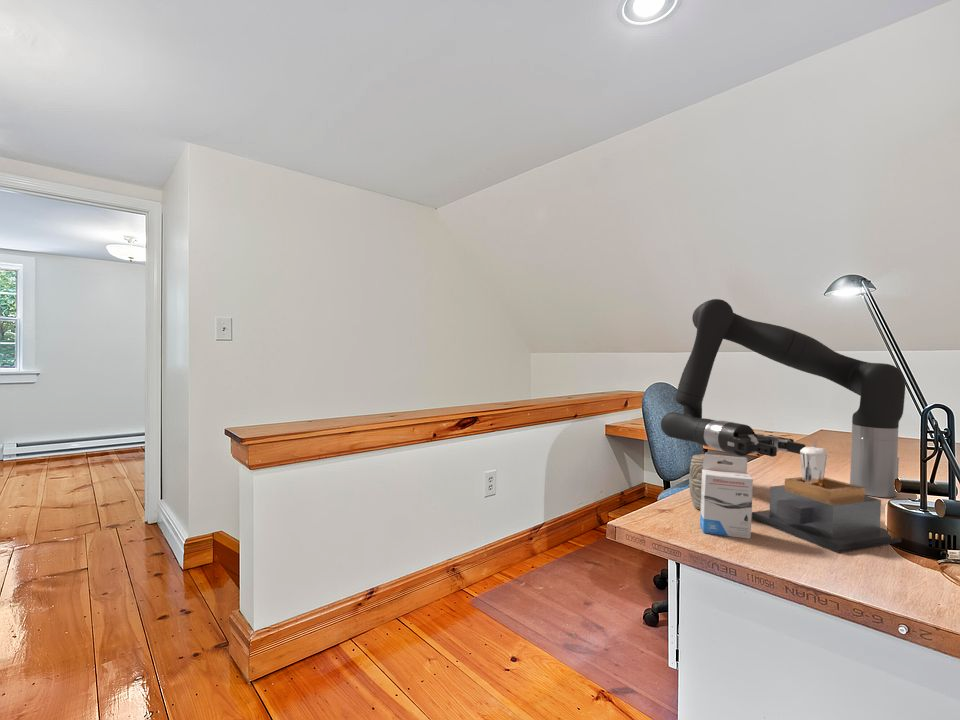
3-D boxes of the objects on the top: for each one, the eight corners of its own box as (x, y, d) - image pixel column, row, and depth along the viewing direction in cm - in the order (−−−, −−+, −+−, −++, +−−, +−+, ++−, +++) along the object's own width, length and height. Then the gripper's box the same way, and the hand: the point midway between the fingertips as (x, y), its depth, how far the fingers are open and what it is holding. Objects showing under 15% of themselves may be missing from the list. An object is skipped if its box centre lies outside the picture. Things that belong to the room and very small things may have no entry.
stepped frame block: (809, 511, 109) (810, 469, 109) (901, 542, 92) (903, 492, 92) (748, 519, 103) (749, 475, 103) (834, 553, 86) (836, 500, 86)
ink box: (702, 533, 95) (704, 458, 94) (699, 525, 100) (701, 453, 99) (751, 539, 92) (754, 462, 92) (746, 530, 97) (748, 457, 97)
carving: (695, 502, 114) (696, 451, 114) (729, 510, 109) (730, 457, 109) (683, 508, 110) (684, 455, 110) (717, 516, 105) (719, 461, 104)
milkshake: (827, 491, 99) (829, 442, 99) (825, 496, 95) (826, 445, 95) (801, 487, 102) (802, 439, 102) (797, 492, 98) (798, 442, 97)
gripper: (706, 423, 117) (766, 434, 102) (751, 421, 122) (814, 431, 107) (705, 453, 117) (765, 470, 102) (750, 450, 122) (813, 465, 107)
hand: (790, 450), depth 104 cm, fingers open, 8 cm apart
